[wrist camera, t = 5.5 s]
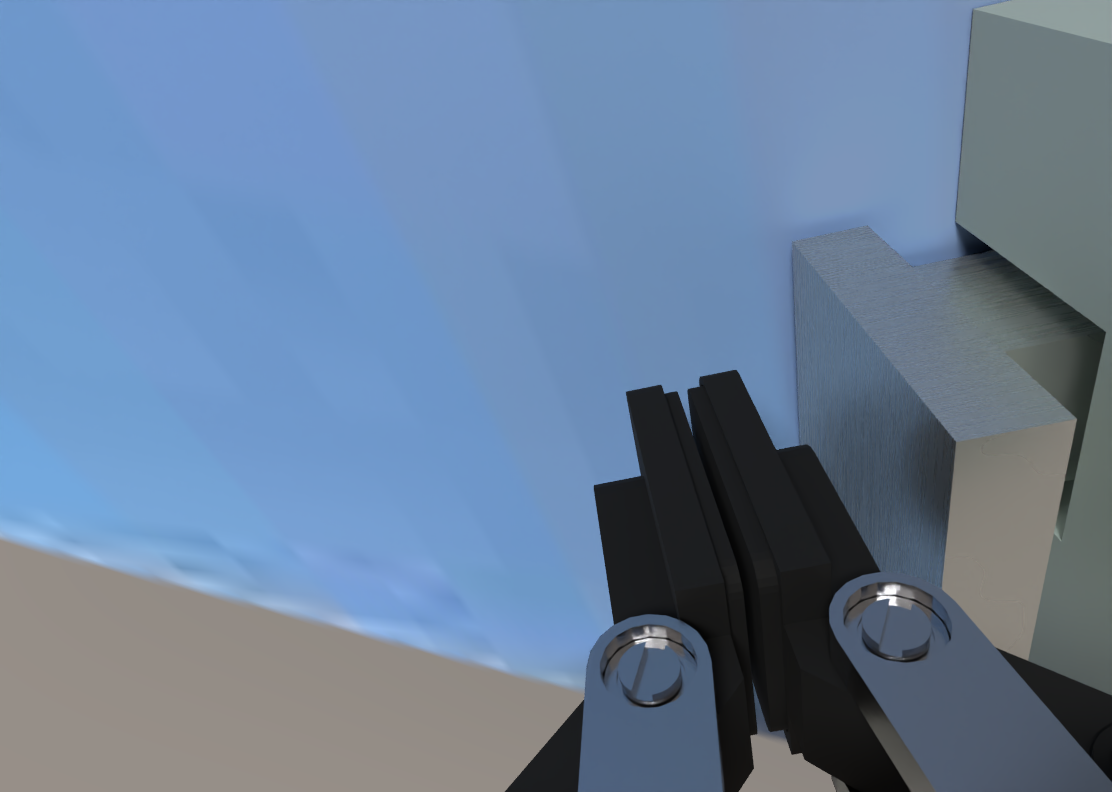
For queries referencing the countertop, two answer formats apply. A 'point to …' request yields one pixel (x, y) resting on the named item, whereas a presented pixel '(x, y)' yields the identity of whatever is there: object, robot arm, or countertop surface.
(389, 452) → the countertop surface
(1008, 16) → the socket block
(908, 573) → the t-shaped push slider
